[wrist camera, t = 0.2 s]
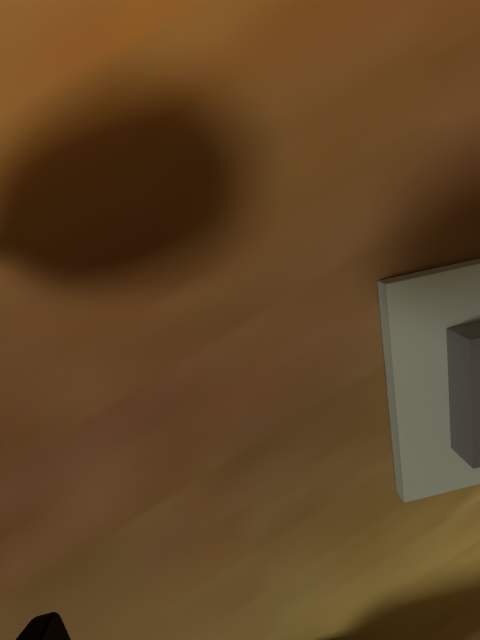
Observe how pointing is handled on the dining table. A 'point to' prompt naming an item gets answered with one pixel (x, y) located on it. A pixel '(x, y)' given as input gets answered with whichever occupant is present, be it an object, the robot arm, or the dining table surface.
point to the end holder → (433, 377)
